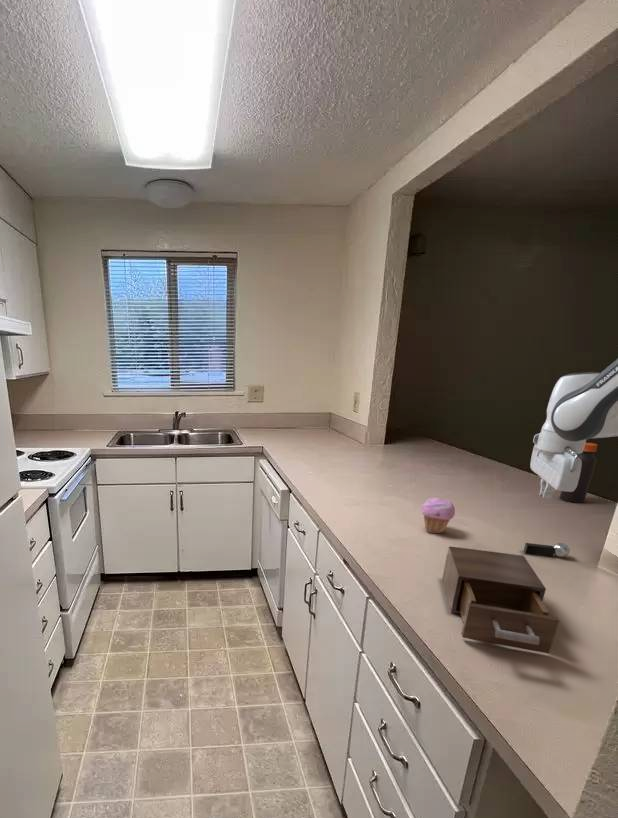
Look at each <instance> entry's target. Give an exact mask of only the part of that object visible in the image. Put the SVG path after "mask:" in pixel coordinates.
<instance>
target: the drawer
mask: <svg viewBox="0 0 618 818" xmlns="http://www.w3.org/2000/svg"><path fill="white" fill-rule="evenodd" d="M457 604H458V607H459V610H460V614H461V615H460V614H459V615H460V617H461V621H462V624H463V626H462V631H461V637H462V638H463V639H468V640H474V641H479V642H486V643H490V644H496V645H501V646H507V647H511V648H518V649H522V650H528V651H533V652H538V653H539V652H540V653H544V654H550V651H551V648H552V645H553V642H554V638H555V635H556V632H557V629H558V626H559V622H560V620H559V618H558V617H557V616H555V615H554V616H553V615H550V613H549V611H548V609H547V607H546V606H545V604H544V603H543V601H541V599H540V598H539V596H538V595H537V593H536V591H533V590H526V589H520V588H513V587H506V586H499V585H492V584H486V583H479V582H472V581H465V580H462V584H461V589H460V593H459V598H458V603H457Z"/></svg>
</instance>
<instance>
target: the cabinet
mask: <svg viewBox="0 0 618 818" xmlns="http://www.w3.org/2000/svg"><path fill="white" fill-rule="evenodd" d="M441 580H442V584H443V588H444V592H445V595H446V600H447V604H448V607H449V611H450V614H454V615H460V616H461V614H460V610H459V607H458V604H457V603H458V598H459V593H460V589H461V584H462V580H465V581H472V582H479V583H486V584H492V585H499V586H506V587H513V588H520V589H526V590H533V591H536V593H537V595H538V596H539V598H540V599H541V601H542V602H543V600H544V597H545V594H546V590H547V588H546V586H545V585H544V583H543V581H541V579H540V578H539V576H538V575H537V573H536V572H535V570H534V569H533V567H532V566H531V564H530V563H529V561H528V560H527V558H526V557H525V556H524V555H521V554H514V553H505V552H498V551H490V550H481V549H475V548H467V547H458V546H450V545H449V546H448V547H447V553H446V558H445V562H444V568H443V572H442V578H441Z"/></svg>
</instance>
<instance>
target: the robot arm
mask: <svg viewBox="0 0 618 818" xmlns="http://www.w3.org/2000/svg"><path fill="white" fill-rule="evenodd" d="M613 437H618V358H616V359H614V361H613V362H611V363H610V364H609V365H608V366H607V367H606V368H604V369H603V370H602V371H601V372H598V371H585V372H572V373H567V374H565V375H563V376H560V378H558V380H557V381H556V383H555V385H554V386H553V389H552V391H551V395H550V396H549V401H548V404H547V408H546V419H545V422H544V423H543V424H542V427H541V429H540V432H539V433H536V434H535V435H534V436H533V440H532V443H534V445H533V448H532V453H531V458H530V464H529V465H530V470H531V471H532V472H533V473H535V474H536V475H537V476H538V477H539V478H541V479H540V491H539V496H540V497H541V498H542V499H544V500H548V501H550V500H552V499H553V496H554V494H555V492H556V491H558V492H561V491H567V492H573V491H574V490H575V489H576V487H577V484H578V481H579V477H580V472H581V467H582V461H581V459H580V458H578V456H577V455H578V454H580V453H582V452H583V450H584V446H585V443H587V440H592V439H605V438H613Z"/></svg>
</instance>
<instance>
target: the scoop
mask: <svg viewBox="0 0 618 818" xmlns="http://www.w3.org/2000/svg"><path fill="white" fill-rule="evenodd" d="M523 552H524V554H526V555H533V556H540V557H549V558H553V557H554V556H555V557H557V558H565V557H568V556H569V555H570V552H571V549H570V547H569V546H568V545H567V544H565V543H563V542H559V543H555V544H554V545H547V544H540V543H539V544H538V543H533V542H532V543H531V542H525V543H524V548H523Z"/></svg>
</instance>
